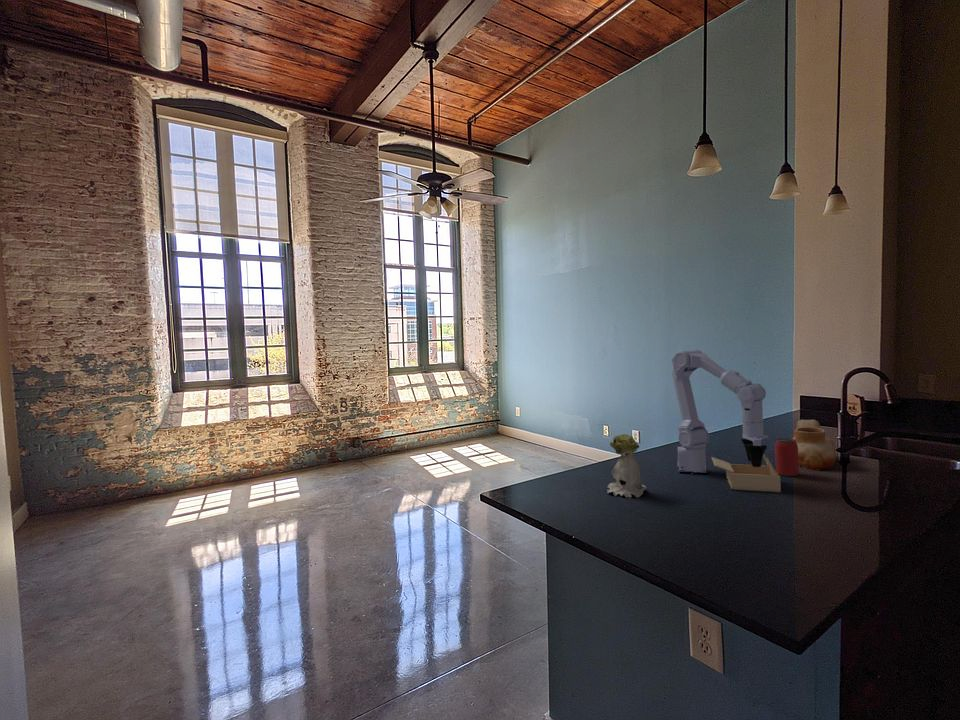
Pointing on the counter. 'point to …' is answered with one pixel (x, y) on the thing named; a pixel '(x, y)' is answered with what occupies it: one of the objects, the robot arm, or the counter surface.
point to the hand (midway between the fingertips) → (754, 463)
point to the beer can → (786, 457)
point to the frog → (626, 468)
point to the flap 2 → (768, 463)
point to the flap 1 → (722, 464)
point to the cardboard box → (753, 478)
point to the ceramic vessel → (813, 445)
